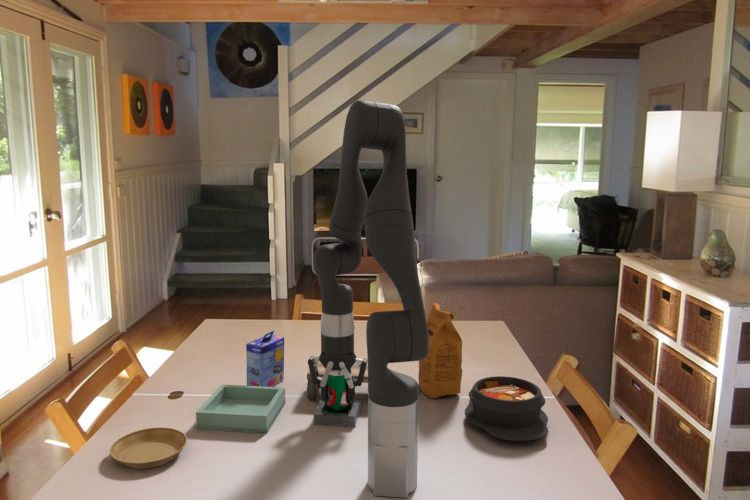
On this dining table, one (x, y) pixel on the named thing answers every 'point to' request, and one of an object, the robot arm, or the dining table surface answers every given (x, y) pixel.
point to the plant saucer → (148, 447)
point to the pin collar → (337, 415)
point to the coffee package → (441, 356)
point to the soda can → (337, 392)
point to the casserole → (508, 408)
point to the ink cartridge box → (265, 361)
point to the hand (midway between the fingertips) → (338, 401)
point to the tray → (241, 408)
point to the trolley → (313, 387)
